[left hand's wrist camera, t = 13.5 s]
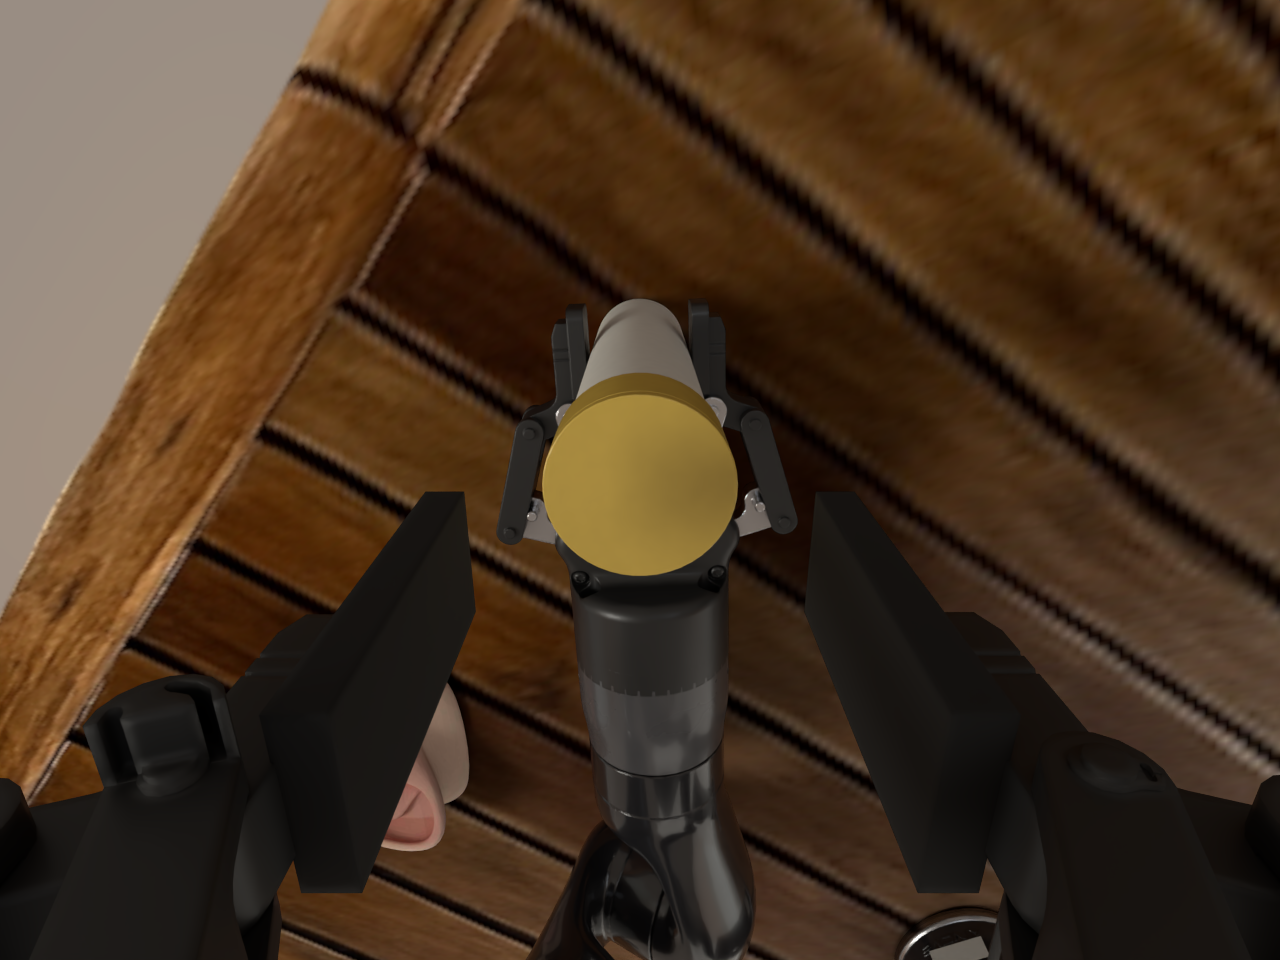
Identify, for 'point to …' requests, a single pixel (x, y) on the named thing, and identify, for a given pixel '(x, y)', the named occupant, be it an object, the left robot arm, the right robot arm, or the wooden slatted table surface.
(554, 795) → the wooden slatted table surface
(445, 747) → the anatomical model
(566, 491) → the lid
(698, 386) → the white bottle
